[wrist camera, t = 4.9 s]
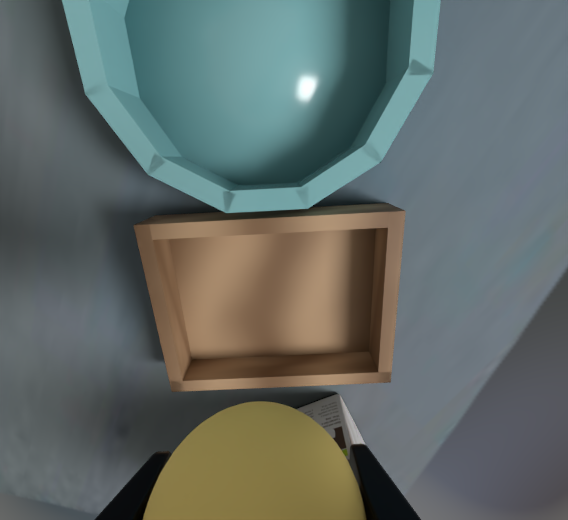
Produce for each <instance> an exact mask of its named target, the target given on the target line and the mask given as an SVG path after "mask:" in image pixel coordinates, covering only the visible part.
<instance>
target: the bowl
mask: <svg viewBox="0 0 568 520" xmlns="http://www.w3.org/2000/svg"><path fill="white" fill-rule="evenodd" d="M440 1H441V0H62V2H63V6H64V10H65V14H66V18H67V22H68V26H69V30H70V34H71V38H72V42H73V46H74V50H75V55H76V59H77V63H78V67H79V71H80V75H81V79H82V83H83V87H84V91H85V95H86V96H87V97H88V98H89V99H90V101H91V102H92V103H93V105H94V106H95V107H96V108H97V110H98V111H99V112H100V114H101V115H102V116H103V117H104V119H105V120H106V121H107V123H108V124H109V125H110V126H111V128H112V129H113V130H114V132H115V133H116V134H117V135H118V137H119V138H120V139H121V141H122V142H123V143H124V144H125V146H126V147H127V148H128V150H129V151H130V152H131V154H132V155H133V156H134V157H135V159H136V160H137V161H138V163H139V164H140V165H141V166H142V168H143V169H144V170H145V172H146V173H147V175H149V176H152V177H154V178H156V179H158V180H160V181H162V182H164V183H166V184H168V185H170V186H172V187H174V188H176V189H178V190H180V191H182V192H184V193H186V194H188V195H190V196H192V197H194V198H196V199H198V200H201V201H203V202H205V203H207V204H209V205H211V206H213V207H215V208H217V209H219V210H221V211H223V212H225V213H238V212H256V211H275V210H294V209H309V208H310V207H311V206H313V205H314V204H316V203H317V202H319V201H320V200H322V199H324V198H325V197H327V196H328V195H330V194H331V193H333V192H335V191H336V190H338V189H339V188H341V187H342V186H344V185H345V184H347V183H349V182H350V181H352V180H353V179H355V178H356V177H358V176H360V175H361V174H363V173H364V172H366V171H367V170H369V169H370V168H372V167H374V166H375V165H377V164H378V163H381V161H382V159H383V157H384V156H385V154H386V152H387V151H388V149H389V147H390V146H391V144H392V142H393V140H394V139H395V137H396V135H397V134H398V132H399V130H400V129H401V127H402V125H403V123H404V122H405V120H406V118H407V117H408V115H409V113H410V111H411V110H412V108H413V106H414V105H415V103H416V101H417V100H418V98H419V96H420V94H421V93H422V91H423V89H424V88H425V86H426V84H427V83H428V81H429V79H430V77H431V76H432V75H433V72H434V71H433V69H434V60H435V50H436V40H437V30H438V21H439V11H440Z"/></svg>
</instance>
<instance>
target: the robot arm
mask: <svg viewBox="0 0 568 520" xmlns="http://www.w3.org/2000/svg"><path fill="white" fill-rule="evenodd" d="M171 455H172V454H171V453H170V452H169V451H163V452H156V453H154V454H153V455H152V456H151V457H150V458H149V460H148V461H147V462H146V463H145V464H144V465H143V466H142V467H141V468H140V470H139V471H138V472H137V473H136V474H135V475H134V476H133V477H132V478H131V480H130V481H129V482H128V483H127V484H126V485H125V486H124V487H123V489H122V490H121V491H120V492H119V493H118V494H117V495H116V496H115V497H114V499H113V500H112V501H111V502H110V503H109V504H108V505H107V506H106V507H105V509H104V510H103V511H102V512H101V513H100V514H99V515H98V516H97V518H96V519H95V520H143V517H144V513H145V510H146V507H147V504H148V501H149V498H150V495H151V493H152V490H153V488H154V486H155V484H156V481H157V479H158V477H159V475H160V473H161V471H162V470H163V468H164V466H165V465H166V463H167V461H168V460H169V458H170V457H171ZM349 464H350V467H351V469H352V471H353V473H354V476H355V478H356V480H357V483H358V486H359V489H360V492H361V496H362V499H363V503H364V508H365V513H366V519H367V520H421V519H420V517H419V516H418V515H417V513H416V512H415V511H414V509H413V508H412V507H411V505H410V504H409V503H408V501H407V500H406V498H405V497H404V496H403V494H402V493H401V492H400V490H399V489H398V488H397V486H396V485H395V484H394V482H393V481H392V479H391V478H390V477H389V475H388V474H387V473H386V471H385V470H384V469H383V467H382V466H381V465H380V463H379V462H378V461H377V459H376V458H375V456H374V455H373V454H372V452H371V451H370V450H369V448H368V447H367V446H366V445H365V444H352V445H351V446H350V461H349Z"/></svg>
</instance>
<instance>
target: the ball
mask: <svg viewBox="0 0 568 520" xmlns="http://www.w3.org/2000/svg"><path fill="white" fill-rule="evenodd" d="M143 520H367V519H366V513H365V508H364V503H363V499H362V496H361V492H360V489H359V486H358V483H357V480H356V478H355V476H354V473H353V471H352V469H351V467H350V464H349V462H348V460H347V459H346V457H345V455H344V454H343V452H342V450H341V449H340V447H339V446H338V444H337V443H336V442H335V441H334V439H333V438H332V437H331V436H330V435H329V434H328V432H327V431H326V430H325V429H324V428H323V427H321V426H320V425H319V424H318V423H317V422H315V421H314V420H313V419H312V418H310V417H309V416H307V415H306V414H304V413H302V412H300V411H298V410H296V409H294V408H292V407H289V406H286V405H283V404H279V403H275V402H266V401H256V402H247V403H242V404H238V405H235V406H232V407H229V408H226V409H224V410H222V411H220V412H218V413H216V414H215V415H213V416H211V417H210V418H208V419H207V420H205V421H203V422H202V423H201V424H200V425H199V426H197V427H196V428H195V429H194V430H193V431H192V432H191V433H190V434H189V435H188V436H187V437H186V438H185V439H184V440H183V441H182V442H181V443H180V445H179V446H178V447H177V448H176V450H175V451H174V452H173V454H172V455H171V457H170V458H169V460H168V461H167V463H166V465H165V466H164V468H163V470H162V471H161V473H160V475H159V477H158V479H157V481H156V484H155V486H154V488H153V490H152V493H151V495H150V498H149V501H148V504H147V507H146V510H145V513H144V517H143Z"/></svg>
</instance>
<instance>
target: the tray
mask: <svg viewBox="0 0 568 520" xmlns="http://www.w3.org/2000/svg"><path fill="white" fill-rule="evenodd" d="M404 222H405V210H402V209H400V208H398V207H395V206H393V205H391V204H389V203H380V204H362V205H343V206H324V207H310V208H309V209H294V210H275V211H256V212H238V213H225V212H212V213H193V214H174V215H156V216H153V217H151V218H148V219H146V220H144V221H142V222H140V223H137V224H135V225H133V226H134V230H135V234H136V239H137V243H138V247H139V252H140V256H141V260H142V265H143V269H144V273H145V278H146V282H147V286H148V291H149V295H150V299H151V304H152V308H153V312H154V317H155V321H156V325H157V330H158V334H159V338H160V343H161V347H162V351H163V356H164V360H165V364H166V369H167V373H168V377H169V382H170V386H171V390H172V392H179V391H202V390H225V389H249V388H272V387H295V386H318V385H341V384H364V383H387V382H391V372H392V360H393V349H394V337H395V326H396V314H397V303H398V291H399V280H400V268H401V257H402V245H403V234H404Z"/></svg>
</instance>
